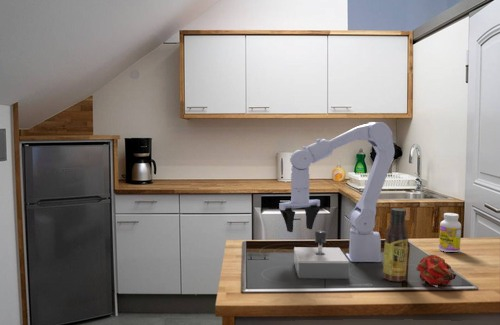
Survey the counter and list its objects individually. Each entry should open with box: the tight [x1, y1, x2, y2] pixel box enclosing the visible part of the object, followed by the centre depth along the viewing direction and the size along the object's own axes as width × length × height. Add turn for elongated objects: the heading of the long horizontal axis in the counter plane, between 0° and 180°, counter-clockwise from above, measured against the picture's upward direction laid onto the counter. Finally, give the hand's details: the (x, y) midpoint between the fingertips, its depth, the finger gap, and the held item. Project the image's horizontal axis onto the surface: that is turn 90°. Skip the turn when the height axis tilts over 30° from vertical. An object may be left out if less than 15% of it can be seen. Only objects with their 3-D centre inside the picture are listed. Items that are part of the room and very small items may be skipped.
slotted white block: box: [293, 246, 350, 280], centre depth 138 cm, size 14×14×5 cm
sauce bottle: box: [382, 207, 409, 283], centre depth 131 cm, size 6×6×20 cm
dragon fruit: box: [415, 254, 457, 287], centre depth 128 cm, size 8×8×12 cm
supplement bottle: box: [438, 212, 462, 253], centre depth 160 cm, size 7×7×13 cm
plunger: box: [314, 230, 327, 255], centre depth 138 cm, size 11×11×8 cm
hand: (299, 230), depth 150 cm, fingers open, 7 cm apart
